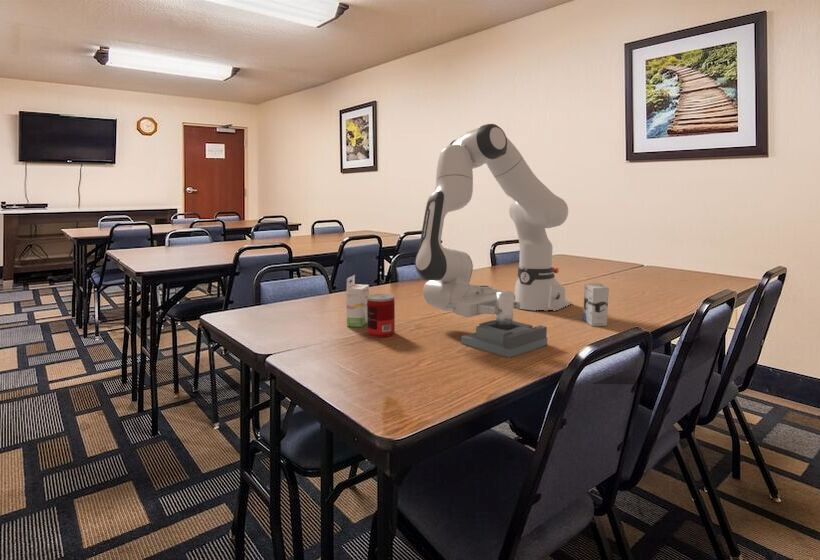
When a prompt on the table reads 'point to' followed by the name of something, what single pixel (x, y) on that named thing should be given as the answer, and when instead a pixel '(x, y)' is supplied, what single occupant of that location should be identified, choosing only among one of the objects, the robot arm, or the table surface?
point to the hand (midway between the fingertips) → (507, 308)
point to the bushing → (504, 310)
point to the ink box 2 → (595, 304)
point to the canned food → (381, 315)
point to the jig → (506, 338)
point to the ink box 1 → (356, 303)
